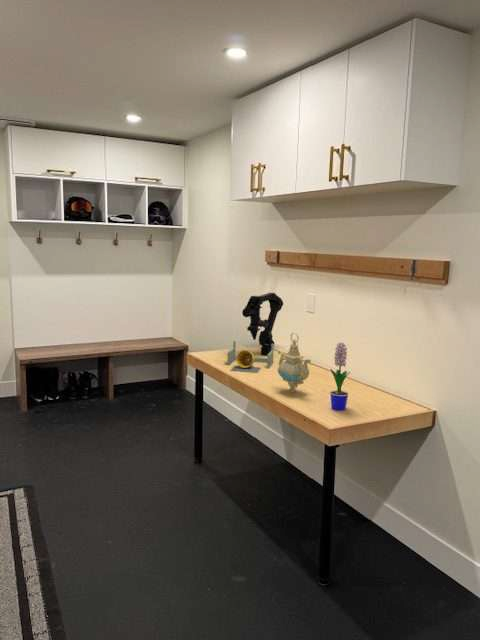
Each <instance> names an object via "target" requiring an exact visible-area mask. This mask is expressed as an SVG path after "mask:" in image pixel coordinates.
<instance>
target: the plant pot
mask: <svg viewBox="0 0 480 640" xmlns="http://www.w3.org/2000/svg"><path fill="white" fill-rule="evenodd" d="M236 356H237V358H236V360H237V361H236V360H235V361H236V364H237V366H240V367H242V368H249V367H253V365H254V363H255V362H254V358H255V356H254V353H253V352H252V351H250V350H246V349H242V350H241V351H239V352H238V353H237V355H236ZM247 359H249V361H248V360H247Z"/></svg>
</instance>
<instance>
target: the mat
mask: <svg viewBox="0 0 480 640" xmlns="http://www.w3.org/2000/svg"><path fill="white" fill-rule="evenodd" d="M261 369H262V367H258V366H257V367H256V366H251V367H249V368H242V367H240V366H239V365H234V366H233V367H232V368H231V369H230V372H238V371H239V372H241V373H251V374H252V373H254V374H258V373H259V372H260V371H261Z"/></svg>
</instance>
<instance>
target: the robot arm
mask: <svg viewBox="0 0 480 640" xmlns="http://www.w3.org/2000/svg"><path fill="white" fill-rule="evenodd" d="M267 301H268V304H269V308H270V310H269V314H268V318H267V319H266V318H265V319H261V316H260V315H261V309H262V308H263V307H262V306H261V305H263V304H264V303H265V302H267ZM283 306H284V301H283V299H282V298H281V297H280V296H278V295H277V294H276V293H275V292H267V293H265V294H261V295H251V296H250V297H249V299H248V302H247V304H246V305H245V306H244V308H243V310H242V316H243V317H245V318H249V320H250V323H249V325H248V327H246V329H247V331H249V332H250V334H251V337H252V339H253V341H255V340H256V339H257V336H258V332H259V331H260V330H261V328H262V327H263V328H264V329H263V330H261V331H260V332H259V336H258V343H259V346H260V354H261V356H267V355H268V354H269V353H270V351H271V345H272V344H274V345H275V341H274V339H273V333H272V331H273V329H274V325H275V322H276V319H277V316H278V313H279V312H280V311H281V310H282V308H283ZM259 327H260V328H259Z"/></svg>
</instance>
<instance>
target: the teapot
mask: <svg viewBox="0 0 480 640" xmlns="http://www.w3.org/2000/svg"><path fill="white" fill-rule="evenodd" d="M294 334H295V335H296V337H297V340H296V339H292V338H293V337H292V336H293V335H294ZM290 341H291V342H292V343H290V345H289V347H290V348H288V350H289V351H287V353H286V354H285V352H284V351H283V350H282V349H279V350H278V351H277V354H278V355H279V354H280V358H279V361H278V367H277V373H278V375H279V376H280V377H281V378H282V381H284V382H287V384H288V386H289V387H290V388H289V390H290V392H291V393H295V392H296V389H297V388H298V385H299V386H301V385H303V384H304V383H305V382H304V381H305V380H307V379H308V377H309V375H310V370H309V365H308V364H310V363H312V360H311V358H307V359H305V360H303V359H304V358H305V357H304V356H303V355H301V352H299V351H300V349H299V343H298V342H299V334H298V333H296V332H292V333H291V335H290Z"/></svg>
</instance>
